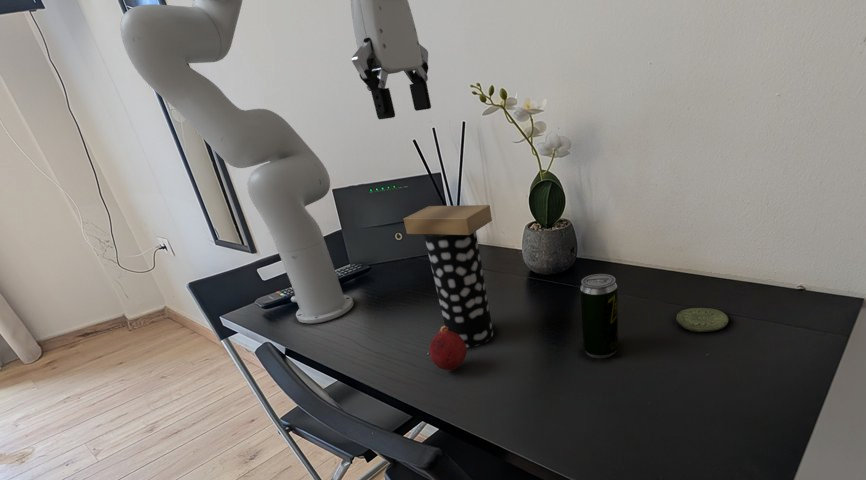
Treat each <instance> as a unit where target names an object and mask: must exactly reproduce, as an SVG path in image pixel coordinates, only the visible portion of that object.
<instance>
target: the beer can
mask: <svg viewBox="0 0 866 480" xmlns="http://www.w3.org/2000/svg"><path fill="white" fill-rule="evenodd" d="M579 290H580V291H579V292H580V307H581V309H580V311H581V325H582V343H583V350H584V352H585V353H586V355H587V356H589V357H590V358H593V359H607V358H610V357H613V356H614V355H615V354H616V353H617V350H618V348H619V322H618V321H619V313H618V312H619V311H618V310H619V309H618V308H619V307H618V301H619V299H618V284H617V283H616V277H614V275H611V274H607V273H596V274H590V275H587V276H585V277H584V278H582V279H581V285H580V287H579Z"/></svg>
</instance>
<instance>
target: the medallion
mask: <svg viewBox="0 0 866 480" xmlns="http://www.w3.org/2000/svg"><path fill="white" fill-rule="evenodd" d="M675 319H676V322H677V323H678V324H679V325H680V326H681V327H682V328H683V329H685V330H688V331H690V332H694V333H695V332H696V333H711V332H712V333H713V332H716V331H721V330H723V329H724V328H725V327H727V325H728V324H729V317H728V315H727V314H726V313H725V312H723V311H722V310H720V309H716V308H712V307H711V308H709V307H691V308H686V309H683V310H680V311H679V312H677V315H676V318H675Z"/></svg>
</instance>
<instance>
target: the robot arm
mask: <svg viewBox="0 0 866 480" xmlns="http://www.w3.org/2000/svg"><path fill="white" fill-rule="evenodd" d="M242 5H243V0H192V5H191V6H184V5H169V4H154V3H152V4H151V3H150V4H139V5H136V6H134V7H130V8H129V9H128V10H127V11H125V12H124V13H123V16H122V17H121V21H120V29H119V30H120V36H121V40H122V44H123V46H124V50H125V52H126V54H127V56H128V59H129V60H130V62H131V64H132V66H133V67H134V69H135V70H136V71H137V73H138V75H139V76H140V77H141V78H142V79H143V81H145V83H146V84H147V85H148V86H149V87H150V88H151V89H152V90H153V91H154V92H156V93H157V94H158V95H159V96H160V97H161V98H162V99H163V100H164V101H166V102H167V103H168V104H169V105H170V106H171V107H173V109H175V110H176V111H177V112H178V113H179V114H180V115H181V116H182V118H183V119H185V121H186V122H187V123H188V124H189V125H190V126H191V128H193V130H194V131H196V133H197V134H198V135H199V136H200V137H201V138H202V139H203V140H204V141H205V142H206V143H207V145H209V146H210V148H211V149H213V151H214V152H215V153H216V154H217V155H218V156H219V157H220V158H221V159H222V160H223V161H224V162H225V163H227V164H228V165H229V166H230V167H232V168H236V169H246V168H250V167H255V166H258V165H259V166H258V167H256V168H255V169H254V170H253V171H252V172H251V173H250V174H249V176H248V177H247V178H248V179H247V183H246V186H247V188H246V189H247V194H248V196H249V198H250V201H251V202H252V204H253V206H254V208H255V209H256V210H257V212H258V214H259V215H260V217H261V218H262V221H263V222H264V224H265V226H266V227H267V230H268V231H269V234H270V236H271V238H272V240H273V244H274V246H275V248H276V250H277V252H278V255H279V257H280V261H281V262H282V264H283V268H284V270H285V272H286V275H287V277H288V280H289V282H290V285H291V287H292V290H293V292H294V295H292V296H291V297H290V301H291V302H292V303H297V305H298V310H296V313H295V317H296V319H297V321H298V322H299V323H302V324H319V323H325V322H327V321H332V320H334V319H337V318H339V317H341V316H344V315H345V314H346V313H348V312H349V311H350V310H351V309H352V308H353V306H354V300H353V297H351V296H349V295H347V294H344V292H343V289H342V286H341V284H340V281H339V278H338V275H337V272H336V269H335V266H334V264H333V260H332V258H331V254H330V252H329V249H328V246H327V243H326V241H325V238H324V235H323V232H322V230H321V228H320V225H319V224H318V222H317V220H316V219H315V218H314V216H312V214H311V213H310V212H309V211H308V210H307V209H306V207H307V206H309V205H312V204H314V203H316V202H317V201H320V200H321V199H323V198H324V197H325V196H326V195H327V194H328V193H329V191H330V189H331V178H330V175H329V172H328V170H327V167H326V166H325V164H324V163H323V161H321V159H320V158H319V157H318V156H317V154H316V153H315V152H314V151H313V150H312V149H311V148H310V146H309V145H308V144H307V143H306V142H305V141H304V140H303V138H302V137H301V136H300V135H299V133H297V131H296V130H295V129H294V128H293V127H292V126H291V125H290V124H289V122H288V121H287V120H285V119H284V118H283V117H282V116H280V115H279V114H278V113H276V112H274V111H273V110H271V109H270V110H269V109H266V108H252V109H246V110H245V109H241V108H239V107H238V106H237V105H235V104H234V103H233V102H232V101H231V100H230V99H229V98H228V97H227V95H226V94H225V93H224V92H223V91H222V90H221V89H220V88H219V87H218V85H216V84H215V83H214V82H213V81H212V80H210V79H209V78H207V77H206V76H205V75H203V74H201V73H200V72H198V71H196V70H195V69H194V68H192V67H191V66H189V65H188V64H204V63H205V64H207V63H216V62H219V61H221V60H224V58H225V57H226V56H228V53H229V51H230V49H231V47H232V44H233V40H234V37H235V32H236V28H237V25H238V24H237V23H238V20H239V16H240V13H241V9H242ZM350 9H351V20H352V25H353V26H352V27H353V32H354V37H355V42H356V43H355V44H356V47H357V50H356V52H355V53H354V54H353V55H352V56H351V62H352V64H353V66H354V68H355V69H356V71H357V73H359V74H358V75H359V78H360V79H361V80H362V82H363V83H365V85H366V89H367V90H368V91H369V92H370V93H371V97H372V101H373V105H374V109H375V113H376V117H377V119H378V120H387V119H393V118H395V117H396V111H395V108H394V103H393V98H392V95H391V90H390V87H386V85H387V81H388V76H389V75H392V74H397V73H398V74H399V73H401V72H404V74H405V75H406V76H407V78H408V80H409V81H410V82H411V83H410V84H409V90H410V94H411V100H412V104H413V109H414V110H415V111H416V112H418V111H425V110H430V109H431V108H432V104H431V99H430V93H429V89H428V84H427V82H428V80H429V77H428V72H429V51H428V49H426V48H425V47H424V46H423V45H421V44H420V42H419V36H418V32H417V28H416V24H415V20H414V17H413V12H412V10H411V6H410V3H409V0H350Z"/></svg>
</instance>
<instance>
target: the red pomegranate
mask: <svg viewBox="0 0 866 480" xmlns="http://www.w3.org/2000/svg"><path fill="white" fill-rule="evenodd" d="M467 350H468V347H467V348H466V345H465V342H464V340H463V339H462V338H461V337H460V336H459V335H458V334H456V333H454V332H452V331H448V327H447V326H445V325H442V326H441V327H440V329H439V331H438V332H437V333H436V334H435V336H434V337H433V338H432V339H431V341H430V344H429V354H430V355H429V357H430V359H431V361H432V362H433V364H434V365H435V366H437V368H439V369H442V370H445V371H449V372H450V371H451V372H453V371H454V372H455V371H456V370H457V368H458V367H460V366H461V365H462V364H463V363H464V361H465V359H466V357H467V352H468V351H467Z"/></svg>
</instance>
